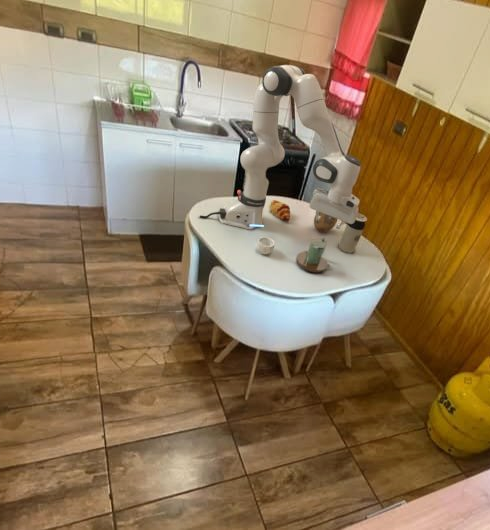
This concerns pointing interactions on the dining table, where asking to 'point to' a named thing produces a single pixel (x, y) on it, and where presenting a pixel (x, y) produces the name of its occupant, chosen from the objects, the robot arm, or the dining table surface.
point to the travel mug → (352, 234)
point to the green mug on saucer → (313, 257)
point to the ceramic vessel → (324, 222)
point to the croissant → (280, 210)
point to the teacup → (265, 245)
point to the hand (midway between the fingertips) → (327, 224)
